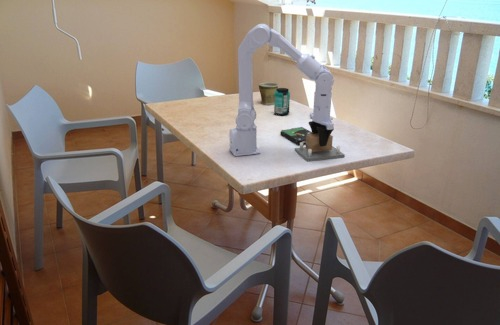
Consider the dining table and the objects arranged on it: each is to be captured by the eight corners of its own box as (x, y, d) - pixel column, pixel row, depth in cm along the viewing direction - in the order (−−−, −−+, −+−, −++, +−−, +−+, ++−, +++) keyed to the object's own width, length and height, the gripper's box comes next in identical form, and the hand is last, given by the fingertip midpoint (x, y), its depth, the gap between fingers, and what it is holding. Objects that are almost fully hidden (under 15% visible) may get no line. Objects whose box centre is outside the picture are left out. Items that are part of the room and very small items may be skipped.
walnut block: (310, 152, 143) (311, 138, 141) (305, 148, 147) (306, 134, 145) (331, 149, 145) (332, 136, 143) (326, 145, 149) (326, 132, 147)
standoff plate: (307, 161, 140) (307, 151, 138) (294, 150, 150) (295, 141, 148) (344, 157, 143) (345, 147, 142) (330, 147, 153) (330, 138, 152)
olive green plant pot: (278, 106, 211) (278, 86, 207) (258, 106, 211) (258, 86, 207) (277, 100, 223) (277, 81, 219) (258, 100, 223) (258, 81, 219)
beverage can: (289, 112, 199) (290, 87, 195) (289, 116, 193) (289, 90, 188) (274, 112, 200) (275, 87, 195) (273, 116, 193) (274, 90, 189)
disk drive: (321, 143, 158) (301, 132, 171) (322, 136, 157) (301, 126, 170) (298, 147, 154) (279, 136, 167) (298, 140, 153) (279, 129, 166)
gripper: (343, 110, 135) (339, 149, 140) (323, 100, 147) (321, 136, 153) (323, 111, 133) (320, 151, 138) (305, 101, 146) (303, 138, 151)
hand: (319, 143), depth 145 cm, fingers closed on walnut block, 4 cm apart
